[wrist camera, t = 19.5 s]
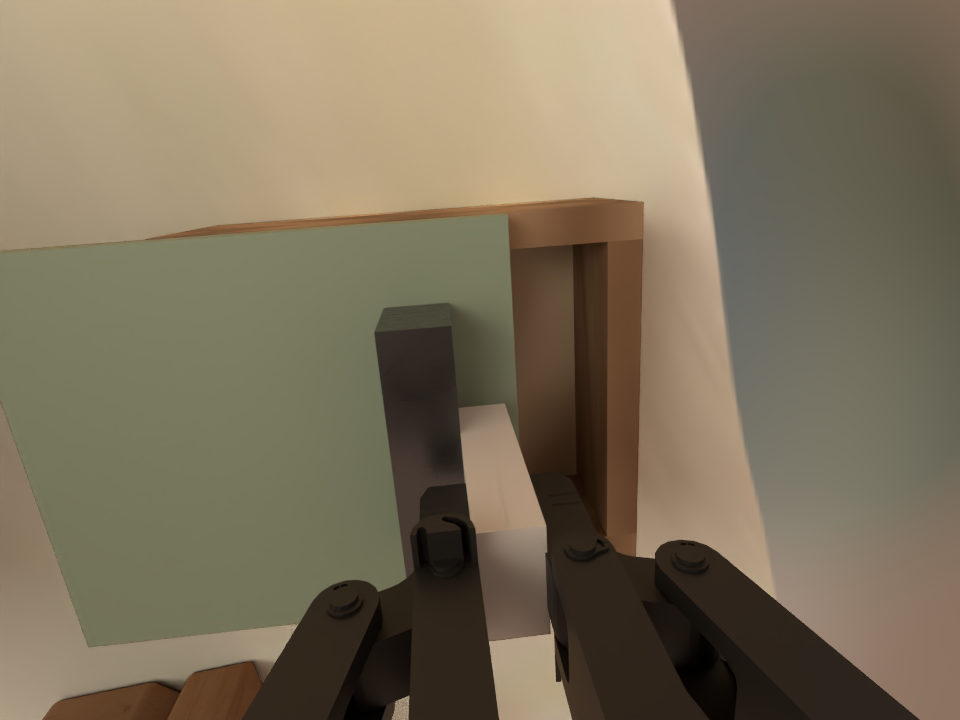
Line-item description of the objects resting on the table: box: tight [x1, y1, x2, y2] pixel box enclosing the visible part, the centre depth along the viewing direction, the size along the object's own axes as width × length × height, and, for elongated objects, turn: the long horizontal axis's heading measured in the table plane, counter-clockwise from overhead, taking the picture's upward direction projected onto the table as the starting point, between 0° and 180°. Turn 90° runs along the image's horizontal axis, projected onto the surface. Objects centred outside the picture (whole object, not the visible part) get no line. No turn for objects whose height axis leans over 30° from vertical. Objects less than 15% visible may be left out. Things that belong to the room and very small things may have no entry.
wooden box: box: [146, 198, 644, 557], centre depth 23 cm, size 16×14×6 cm
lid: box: [0, 213, 520, 647], centre depth 18 cm, size 16×14×4 cm
